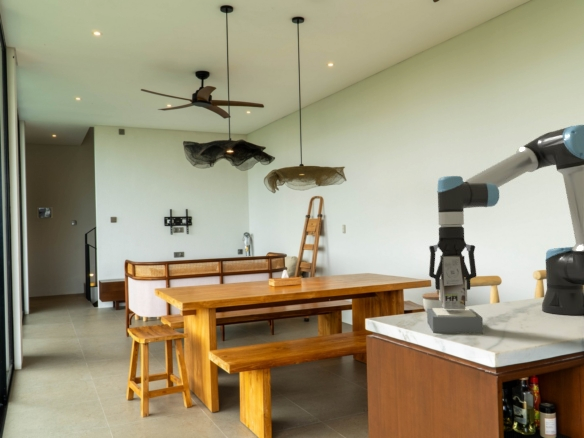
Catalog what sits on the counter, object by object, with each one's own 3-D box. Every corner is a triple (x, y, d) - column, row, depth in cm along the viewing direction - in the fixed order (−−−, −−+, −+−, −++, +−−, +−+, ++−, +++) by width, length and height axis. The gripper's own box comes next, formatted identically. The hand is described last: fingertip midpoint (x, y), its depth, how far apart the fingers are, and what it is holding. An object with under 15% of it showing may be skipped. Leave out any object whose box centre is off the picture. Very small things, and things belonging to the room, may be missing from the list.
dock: (472, 323, 159) (471, 307, 159) (482, 333, 143) (482, 316, 143) (427, 322, 161) (427, 307, 162) (433, 332, 146) (432, 315, 146)
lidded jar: (461, 318, 167) (460, 291, 167) (431, 320, 165) (431, 292, 165) (445, 313, 178) (444, 287, 178) (417, 315, 176) (417, 288, 176)
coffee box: (466, 309, 147) (464, 256, 148) (444, 309, 149) (442, 256, 149) (462, 305, 156) (460, 254, 157) (441, 305, 158) (439, 254, 158)
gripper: (481, 225, 155) (483, 298, 155) (417, 226, 158) (419, 298, 158) (486, 225, 148) (488, 302, 147) (420, 226, 151) (422, 302, 150)
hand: (453, 300), depth 153 cm, fingers closed on coffee box, 6 cm apart
